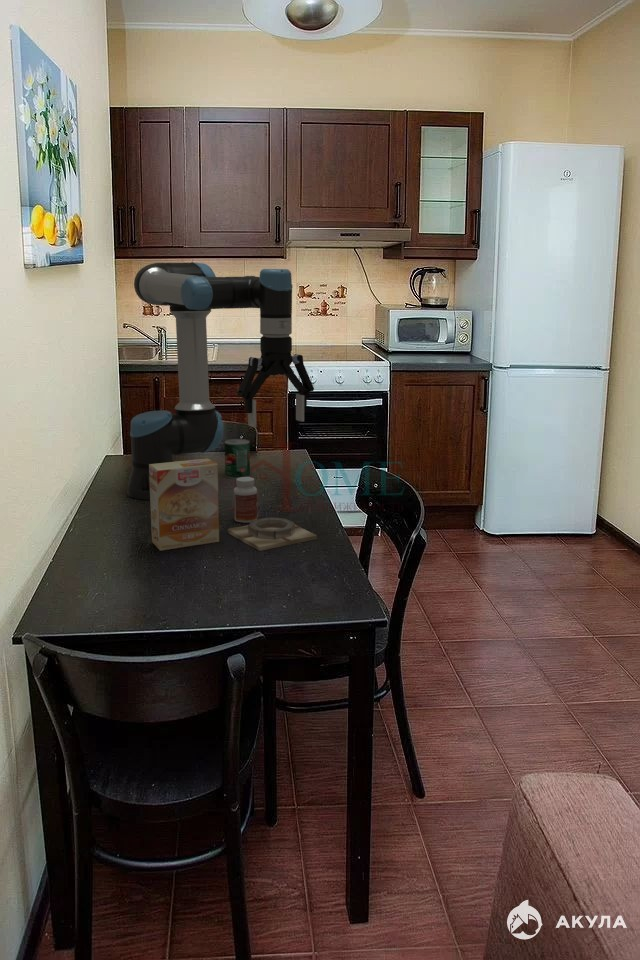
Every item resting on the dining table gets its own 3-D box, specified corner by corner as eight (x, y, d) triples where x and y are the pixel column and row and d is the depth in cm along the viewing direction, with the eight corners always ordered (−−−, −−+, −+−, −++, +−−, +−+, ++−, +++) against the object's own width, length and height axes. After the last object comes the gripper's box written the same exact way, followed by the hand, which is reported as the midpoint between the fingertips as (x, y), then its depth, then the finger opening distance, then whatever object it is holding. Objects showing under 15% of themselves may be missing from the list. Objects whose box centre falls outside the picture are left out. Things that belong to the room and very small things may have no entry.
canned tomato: (255, 474, 267) (254, 440, 264) (240, 480, 260) (239, 445, 257) (235, 471, 271) (234, 437, 268) (219, 476, 264) (219, 442, 261)
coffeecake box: (160, 551, 197) (156, 470, 192) (151, 542, 203) (147, 463, 198) (220, 542, 204) (218, 463, 199) (210, 533, 210) (208, 457, 205)
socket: (227, 532, 210) (227, 521, 210) (282, 522, 219) (282, 511, 218) (259, 551, 197) (259, 538, 197) (316, 539, 206) (316, 527, 205)
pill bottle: (262, 521, 220) (261, 479, 217) (241, 525, 217) (240, 483, 214) (250, 515, 225) (250, 474, 222) (229, 518, 222) (229, 477, 219)
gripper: (237, 339, 192) (238, 431, 197) (328, 334, 205) (327, 420, 210) (221, 336, 198) (223, 426, 203) (311, 332, 211) (310, 416, 216)
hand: (276, 423), depth 207 cm, fingers open, 13 cm apart
